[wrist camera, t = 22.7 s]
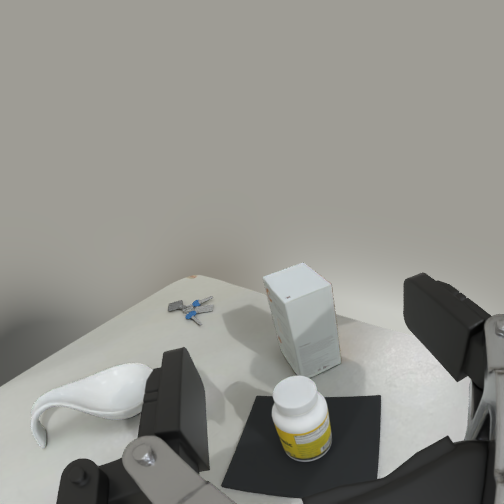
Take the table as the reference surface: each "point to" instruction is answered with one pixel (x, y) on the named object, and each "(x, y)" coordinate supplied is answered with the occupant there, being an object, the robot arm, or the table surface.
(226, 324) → the table surface
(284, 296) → the small box
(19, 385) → the table surface
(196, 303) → the key chain
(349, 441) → the mat
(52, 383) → the table surface
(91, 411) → the spoon rest
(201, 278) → the table surface
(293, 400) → the supplement bottle
